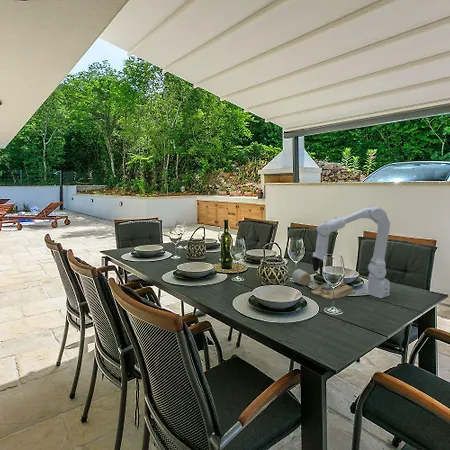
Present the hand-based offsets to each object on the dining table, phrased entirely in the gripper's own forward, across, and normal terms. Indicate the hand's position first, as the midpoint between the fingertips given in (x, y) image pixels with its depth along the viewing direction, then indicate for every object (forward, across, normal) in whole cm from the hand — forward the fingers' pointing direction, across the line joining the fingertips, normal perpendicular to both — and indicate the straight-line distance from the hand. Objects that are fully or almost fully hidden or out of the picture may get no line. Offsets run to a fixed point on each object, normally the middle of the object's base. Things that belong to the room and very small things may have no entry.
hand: (318, 273), depth 168 cm
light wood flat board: (+9, +3, +8) cm, 12 cm away
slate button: (+7, +5, +3) cm, 9 cm away
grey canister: (+11, -14, -2) cm, 17 cm away
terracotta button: (+6, +1, +12) cm, 13 cm away
